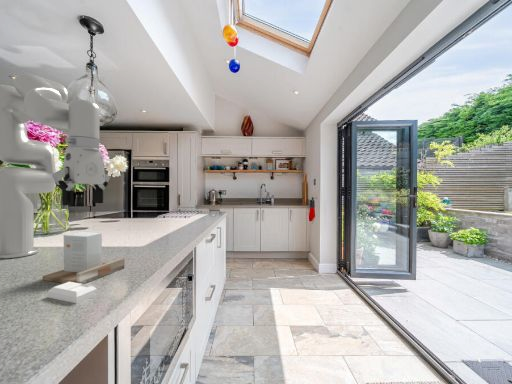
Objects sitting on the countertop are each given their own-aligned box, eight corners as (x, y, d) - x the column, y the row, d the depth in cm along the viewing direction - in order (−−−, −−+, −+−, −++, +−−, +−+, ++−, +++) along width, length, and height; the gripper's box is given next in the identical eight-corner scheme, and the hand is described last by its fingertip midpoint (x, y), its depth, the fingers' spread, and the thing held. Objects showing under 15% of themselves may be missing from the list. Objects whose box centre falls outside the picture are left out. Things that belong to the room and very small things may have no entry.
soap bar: (69, 290, 64) (69, 280, 64) (96, 296, 62) (96, 285, 62) (47, 299, 60) (47, 287, 60) (76, 305, 57) (76, 293, 57)
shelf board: (42, 279, 70) (42, 268, 70) (91, 264, 85) (91, 254, 85) (80, 285, 67) (80, 274, 67) (124, 268, 81) (125, 258, 81)
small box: (102, 268, 78) (102, 232, 78) (86, 274, 73) (86, 236, 72) (80, 265, 80) (80, 231, 80) (63, 271, 74) (63, 234, 74)
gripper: (64, 139, 66) (64, 206, 67) (118, 149, 83) (117, 202, 83) (43, 140, 68) (42, 205, 69) (99, 149, 85) (99, 201, 85)
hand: (83, 204), depth 76 cm, fingers open, 9 cm apart
